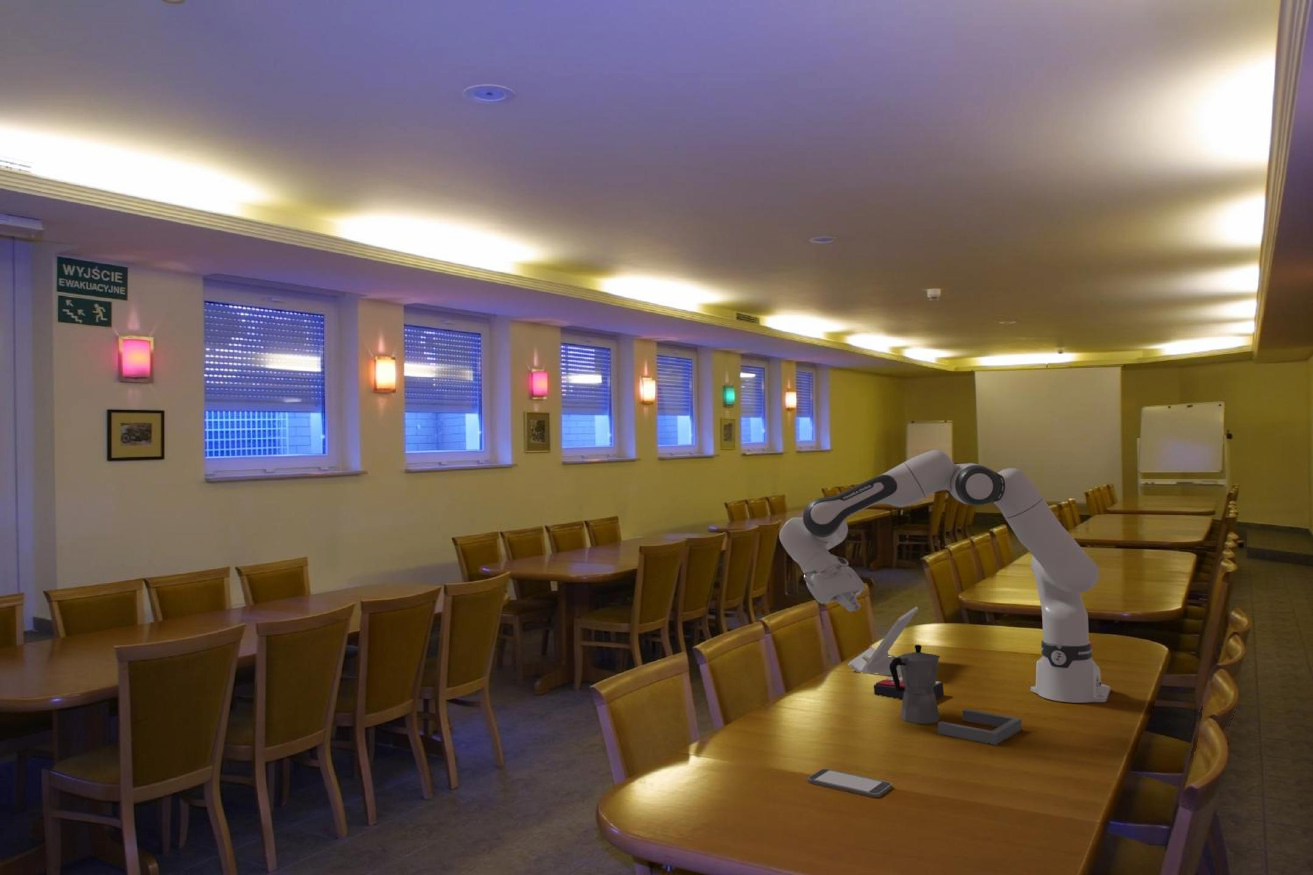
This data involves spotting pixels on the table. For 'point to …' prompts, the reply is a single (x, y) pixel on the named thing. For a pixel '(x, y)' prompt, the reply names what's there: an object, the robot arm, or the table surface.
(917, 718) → the coffeepot
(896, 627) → the tablet stand
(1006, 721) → the dock
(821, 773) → the smartphone
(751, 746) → the table surface
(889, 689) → the calculator
